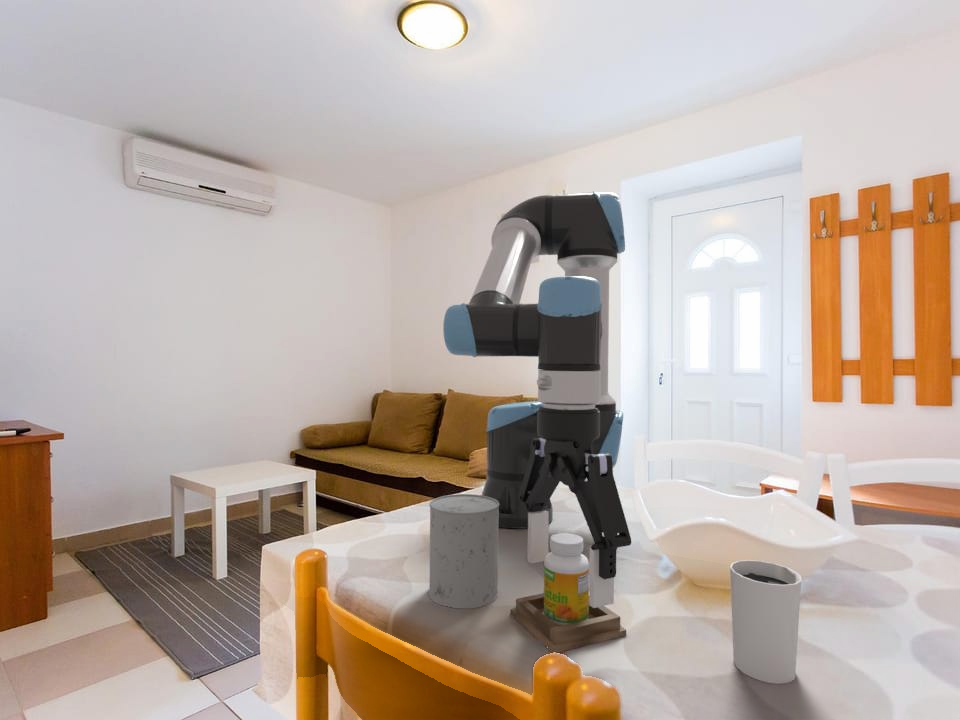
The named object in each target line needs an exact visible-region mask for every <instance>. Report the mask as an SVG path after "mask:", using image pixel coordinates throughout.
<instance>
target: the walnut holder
mask: <svg viewBox="0 0 960 720" xmlns="http://www.w3.org/2000/svg"><path fill="white" fill-rule="evenodd" d="M509 609H510V615H511V616H512V617H513V618H514V619H515V620H517V622H519V624H521V625H522V626H523V627H524V628H525V629H526V630H527V631H528V632H530V634H531V635H532V636H534V637H535V639H537V640H538V641H539V642H540V643H541V644H542V645H543V646H544V645H545V646H546V647H548V648H547V650H549V651H550V652H551V653H552V652H558V653H557V654H559V653H563V652H567V651H571V650H573V649H578V648H582V647H585V646H589V645H594V644H598V643H600V642H605V641H609V640H612V639H616V638H620V637H624V636H627V629H626V628H625V627H623V626H622V625H621V616H620V615H618V614H617V613H615V612H614V611H612V609H610V608H608V607H607V606H606V605H605V606H601V607H596V608H593V607H591V606H590V605H589V614H588V620H583V621H579V622H575V623H570V624H566V625H562V626H556V625H555V624H554V623H553V622H552V621H551V620H549V619H548V618H547V617H546V616H545V615H544V592H542V593H538V594H534V595H533V594H532V595H528V596H523V597H519V598H515V608H514V607H513V608H509ZM545 646H544V647H545ZM546 647H545V648H546Z"/></svg>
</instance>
